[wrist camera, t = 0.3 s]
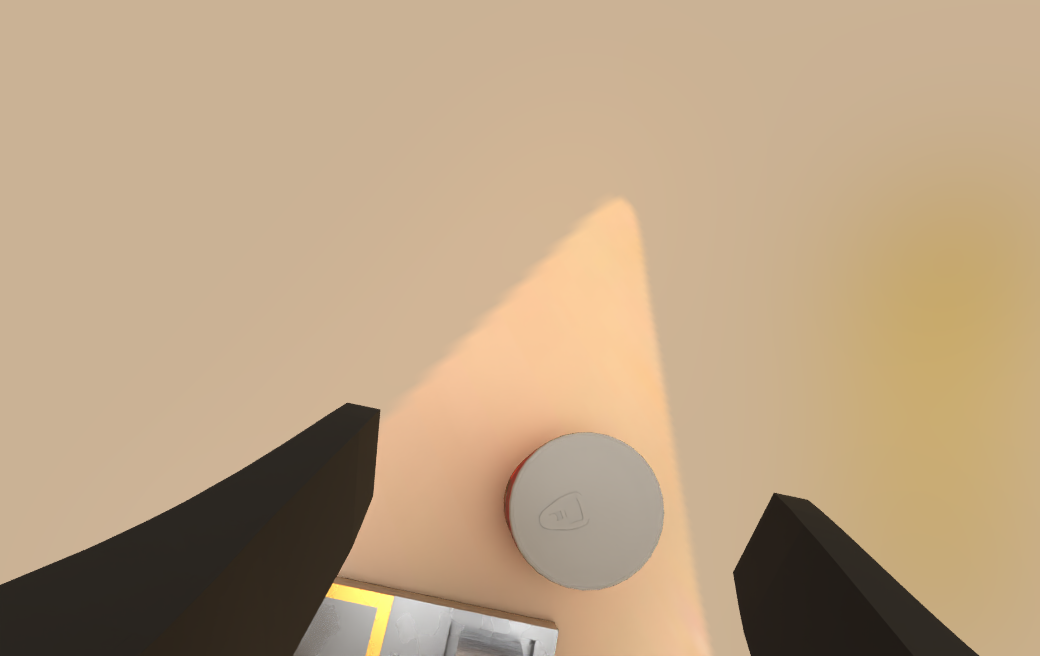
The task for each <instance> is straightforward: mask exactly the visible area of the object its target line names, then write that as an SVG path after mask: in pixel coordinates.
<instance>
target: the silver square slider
mask: <svg viewBox="0 0 1040 656" xmlns="http://www.w3.org/2000/svg"><path fill="white" fill-rule="evenodd" d="M455 656H524V655H523V650H522V645H521V643H517V642H513V641H508V640H503V639H498V638H494V637H489V636H484V635H479V634H475V633H470V632H465V631H460V635H459V640H458V645H457V650H456V654H455Z"/></svg>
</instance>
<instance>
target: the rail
mask: <svg viewBox="0 0 1040 656" xmlns="http://www.w3.org/2000/svg"><path fill="white" fill-rule="evenodd" d="M460 631H465V632H470V633H475V634H479V635H484V636H489V637H494V638H498V639H503V640H508V641H513V642H517V643H521V645H522V650H523V655H524V656H555V650H556V644H557V638H558V631H559V630H558V628H557V626H556V624H555V622H550V621H545V620H540V619H536V618H531V617H526V616H521V615H517V614H512V613H507V612H503V611H498V610H493V609H488V608H484V607H479V606H474V605H469V604H465V603H460V602H455V601H450V600H446V599H441V598H436V597H431V596H427V595H422V594H417V593H412V592H408V591H403V590H398V589H394V588H389V587H384V586H379V585H375V584H370V583H365V582H360V581H356V580H351V579H346V578H341V577H337V576H336V578H335V580H334V582H333V584H332V586H331V587H330V589H329V591H328V593H327V595H326V597H325V598H324V600H323V602H322V604H321V606H320V608H319V609H318V611H317V613H316V615H315V617H314V618H313V620H312V622H311V624H310V626H309V628H308V629H307V631H306V633H305V635H304V637H303V638H302V640H301V642H300V644H299V646H298V648H297V649H296V651H295V653H294V655H293V656H455V654H456V650H457V645H458V640H459V635H460Z"/></svg>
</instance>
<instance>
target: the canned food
mask: <svg viewBox="0 0 1040 656" xmlns="http://www.w3.org/2000/svg"><path fill="white" fill-rule="evenodd" d="M504 513H505V518H506V522H507V525H508V527H509V530H510V532H511V535H512V537H513V539H514V542H515V544H516V546H517V547H518V549H519V551H520V552H521V554H522V555H523V557H524V558H525V560H526V561H527V562H528V563H529V564H530V565H531V566H532V567H533V568H534V569H535V570H536V571H537V572H538V573H539V574H541V575H542V576H544V577H545V578H547V579H548V580H550V581H552V582H554V583H557V584H559V585H562V586H564V587H567V588H572V589H578V590H599V589H603V588H607V587H611V586H614V585H617V584H619V583H621V582H623V581H625V580H627V579H628V578H630V577H631V576H632V575H633V574H635V573H636V572H637V571H639V570H640V569H641V568H642V566H643V565H644V564H645V563H646V562H647V561H648V559H649V558H650V557H651V555H652V553H653V551H654V549H655V548H656V546H657V544H658V541H659V538H660V535H661V532H662V527H663V519H664V506H663V497H662V493H661V489H660V486H659V483H658V481H657V479H656V477H655V474H654V472H653V470H652V469H651V468H650V466H649V465H648V463H647V462H646V461H645V459H644V458H643V457H642V456H641V455H640V454H639V453H637V452H636V451H635V450H634V449H633V448H632V447H630V446H629V445H627V444H625V443H624V442H622V441H621V440H618V439H615V438H613V437H610V436H608V435H603V434H597V433H591V432H590V433H573V434H568V435H564V436H560V437H558V438H556V439H554V440H551V441H549V442H547V443H545V444H544V445H543V446H541V447H540V448H538V449H537V450H535V451H534V452H533V453H532V454H530V455H529V456H528V457H527V458H526V459H525V460H524V461H523V462H522V463H521V464H520V465H519V466H518V467H517V468H516V470H515V471H514V473H513V474H512V476H511V477H510V480H509V482H508V485H507V487H506V492H505V496H504Z"/></svg>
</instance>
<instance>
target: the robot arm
mask: <svg viewBox="0 0 1040 656" xmlns="http://www.w3.org/2000/svg"><path fill="white" fill-rule="evenodd" d="M379 419H380V409H375V408H370V407H365V406H361V405H355V404H351V403H346V404H345V405H343V406H341V407H340V408H338V409H336V410H335V411H333V412H332V413H330V414H328V415H327V416H325V417H324V418H322V419H321V420H319V421H318V422H316V423H315V424H314V425H312V426H310V427H309V428H307V429H305V430H304V431H302V432H301V433H299V434H298V435H296V436H295V437H293V438H292V439H290V440H289V441H287V442H285V443H284V444H282V445H281V446H279V447H277V448H276V449H274V450H273V451H271V452H270V453H268V454H266V455H265V456H263V457H261V458H260V459H258V460H256V461H255V462H253V463H252V464H250V465H248V466H247V467H245V468H243V469H242V470H240V471H239V472H237V473H235V474H233V475H231V476H230V477H228V478H226V479H224V480H223V481H221V482H219V483H217V484H215V485H214V486H212V487H210V488H208V489H207V490H205V491H203V492H201V493H200V494H198V495H196V496H194V497H192V498H191V499H189V500H187V501H185V502H184V503H181V504H179V505H178V506H176V507H174V508H172V509H170V510H168V511H166V512H164V513H162V514H160V515H158V516H156V517H154V518H152V519H150V520H148V521H146V522H144V523H142V524H140V525H137V526H135V527H133V528H131V529H129V530H127V531H125V532H123V533H121V534H118V535H116V536H114V537H112V538H110V539H108V540H106V541H104V542H101V543H99V544H97V545H95V546H92V547H90V548H88V549H86V550H83V551H81V552H79V553H76V554H74V555H72V556H69V557H66V558H64V559H62V560H59V561H57V562H54V563H52V564H50V565H48V566H45V567H42V568H40V569H38V570H35V571H33V572H30V573H28V574H26V575H23V576H21V577H18V578H16V579H13V580H11V581H9V582H6V583H4V584H1V585H0V656H293V655H294V653H295V651H296V649H297V648H298V646H299V644H300V642H301V640H302V638H303V637H304V635H305V633H306V631H307V629H308V628H309V626H310V624H311V622H312V620H313V618H314V617H315V615H316V613H317V611H318V609H319V608H320V606H321V604H322V602H323V600H324V598H325V597H326V595H327V593H328V591H329V589H330V587H331V586H332V584H333V582H334V580H335V578H336V576H337V575H338V573H339V571H340V569H341V567H342V565H343V563H344V562H345V560H346V558H347V556H348V554H349V552H350V550H351V548H352V546H353V544H354V542H355V539H356V537H357V534H358V532H359V530H360V527H361V525H362V522H363V520H364V517H365V515H366V512H367V510H368V507H369V505H370V502H371V500H372V497H373V490H374V478H375V466H376V454H377V442H378V431H379ZM733 574H734V581H735V586H736V593H737V599H738V605H739V610H740V615H741V620H742V625H743V630H744V634H745V637H746V641H747V644H748V647H749V651H750V654H751V656H979V655H978V654H976V653H975V652H974V651H973V650H972V649H971V648H970V647H968V646H967V645H966V644H965V643H964V642H963V641H961V640H960V639H959V638H958V637H957V636H956V635H955V634H954V633H953V632H952V631H951V630H949V629H948V628H947V627H946V626H945V625H944V624H943V623H942V622H940V621H939V620H938V619H937V618H936V617H935V616H934V615H933V614H932V613H931V612H929V611H928V610H927V609H926V608H925V607H924V606H923V605H922V604H921V603H920V602H919V601H918V600H916V599H915V598H914V597H913V596H912V595H911V594H910V593H909V592H908V591H907V590H906V589H905V588H903V586H901V585H900V584H899V583H898V582H897V581H896V580H895V579H894V578H893V577H892V576H891V575H890V574H889V573H888V572H886V570H884V569H883V568H882V567H881V566H880V565H879V564H878V563H877V562H876V561H875V560H874V559H873V558H872V557H871V556H870V555H869V554H867V553H866V552H865V551H864V550H863V549H862V548H861V547H860V546H859V545H858V544H857V543H856V542H855V541H854V540H852V538H850V537H849V536H848V535H847V534H846V533H845V532H844V531H843V530H842V529H841V528H840V527H838V526H837V525H836V524H835V523H834V522H833V521H832V520H831V519H830V518H829V517H828V516H826V515H825V514H824V513H823V512H822V511H821V510H819V509H818V508H817V507H816V506H815V505H813V504H812V503H811V502H810V501H808V500H805V499H801V498H796V497H791V496H786V495H782V494H777V493H774V494H773V496H772V498H771V500H770V502H769V504H768V506H767V508H766V509H765V511H764V513H763V516H762V517H761V519H760V521H759V523H758V525H757V527H756V529H755V531H754V533H753V535H752V537H751V539H750V541H749V543H748V544H747V546H746V548H745V550H744V553H743V555H742V556H741V558H740V560H739V562H738V564H737V566H736V568H735V570H734V572H733Z"/></svg>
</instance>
